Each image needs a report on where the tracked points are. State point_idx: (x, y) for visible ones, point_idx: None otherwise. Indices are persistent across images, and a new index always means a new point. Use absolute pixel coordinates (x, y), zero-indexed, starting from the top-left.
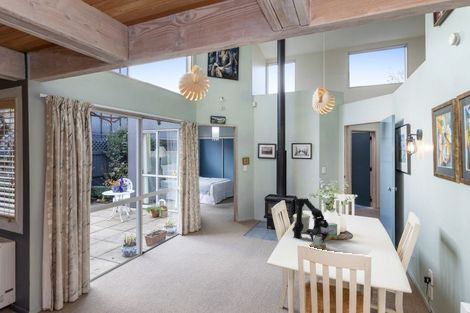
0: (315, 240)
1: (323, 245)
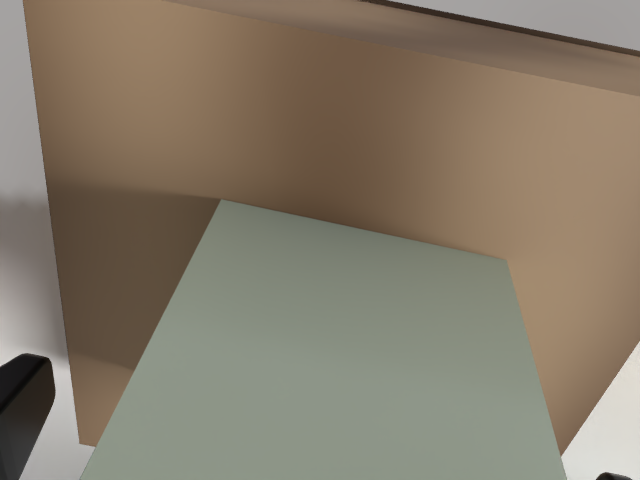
0: (428, 474)
1: (115, 351)
